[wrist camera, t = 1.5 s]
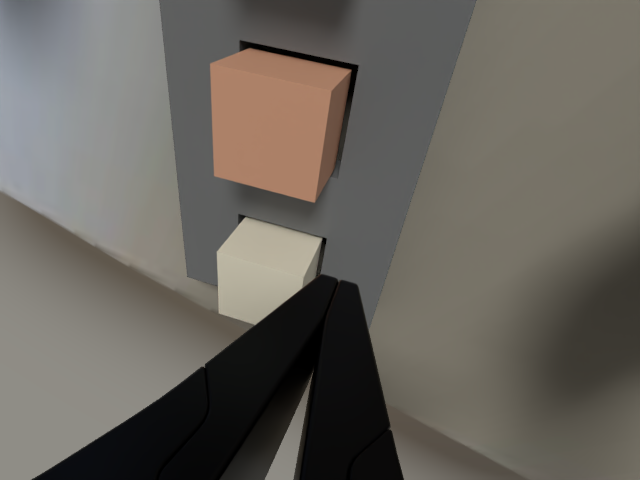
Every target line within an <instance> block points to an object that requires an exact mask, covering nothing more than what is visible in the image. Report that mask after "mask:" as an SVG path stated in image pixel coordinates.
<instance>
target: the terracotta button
mask: <svg viewBox="0 0 640 480" xmlns="http://www.w3.org/2000/svg"><path fill="white" fill-rule="evenodd" d="M351 73H352V69H347V68H342V67H338V66H333V65H328V64H324V63H319V62H314V61H310V60H305V59H300V58H295V57H291V56H286V55H281V54H277V53H272V52H267V51H263V50H258V49H253V48H248V49H246V50H243V51H241V52H238V53H236V54H233V55H231V56H228V57H226V58H223V59H221V60H218V61H215V62H213V63H210V76H211V104H212V132H213V160H214V176H215V177H219V178H223V179H227V180H231V181H234V182H238V183H242V184H246V185H249V186H253V187H257V188H261V189H264V190H268V191H272V192H276V193H280V194H283V195H287V196H291V197H295V198H298V199H302V200H306V201H310V202H314V203H315V202H316V200H317V198H318V196H319V195H320V193H321V191H322V189H323V188H324V186H325V184H326V183H327V181H328V179H329V177H330V176H331V174H332V172H333V170H334V169H335V164H336V158H337V153H338V147H339V141H340V135H341V130H342V124H343V118H344V113H345V107H346V101H347V95H348V90H349V84H350V78H351Z"/></svg>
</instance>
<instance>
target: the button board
mask: <svg viewBox="0 0 640 480" xmlns="http://www.w3.org/2000/svg"><path fill="white" fill-rule="evenodd" d="M159 2H160V11H161V21H162V31H163V41H164V51H165V61H166V71H167V81H168V91H169V100H170V110H171V120H172V130H173V140H174V150H175V160H176V170H177V179H178V189H179V199H180V209H181V219H182V229H183V239H184V249H185V259H186V268H187V277H189V278H193V279H196V280H199V281H202V282H206V283H209V284H212V285H215V286H218V271H217V251H218V250H219V249H220V247H221V246H222V245H223V244H224V242H225V241H226V240H227V239H228V238H229V236H230V235H231V234H232V233H233V232H234V230H235V229H236V228H237V227H238V225H239V224H240V223H241V222H242V221H243V219H244V218H245V217H246V216H248V217H252V218H255V219H259V220H263V221H266V222H270V223H273V224H277V225H281V226H284V227H288V228H291V229H295V230H299V231H302V232H306V233H310V234H313V235H317V236H320V237H324V238H327V241H326V246H325V252H324V257H323V263H322V268H321V274H325V275H328V276H332V277H335V278H337V279H338V282H339V281H340V280H346V281H349V282H353V283H356V284H357V285H358V287H359V291H360V295H361V299H362V304H363V308H364V313H365V317H366V321H367V326H368V330H369V328H370V325H371V322H372V319H373V316H374V313H375V310H376V307H377V303H378V300H379V297H380V294H381V291H382V288H383V285H384V282H385V279H386V276H387V273H388V270H389V267H390V264H391V261H392V258H393V254H394V251H395V248H396V245H397V242H398V239H399V236H400V233H401V230H402V227H403V224H404V221H405V218H406V215H407V212H408V209H409V206H410V202H411V199H412V196H413V193H414V190H415V187H416V184H417V181H418V178H419V175H420V172H421V169H422V166H423V163H424V160H425V157H426V153H427V150H428V147H429V144H430V141H431V138H432V135H433V132H434V129H435V126H436V123H437V120H438V117H439V114H440V111H441V108H442V105H443V101H444V98H445V95H446V92H447V89H448V86H449V83H450V80H451V77H452V74H453V71H454V68H455V65H456V62H457V59H458V56H459V52H460V49H461V46H462V43H463V40H464V37H465V34H466V31H467V28H468V25H469V22H470V19H471V16H472V13H473V10H474V7H475V4H476V0H159ZM258 44H261V45H266V46H271V47H275V48H280V49H285V50H290V51H294V52H299V53H304V54H309V55H313V56H318V57H323V58H328V59H332V60H337V61H342V62H346V63H351V64H356V65H359V67H358V73H357V78H356V83H355V89H354V94H353V100H352V105H351V111H350V116H349V121H348V127H347V132H346V138H345V143H344V149H343V154H342V159H341V160H337V159H336V164H335V169H334V170H333V172H332V174H331V176H330V177H329V179H328V181H327V183H326V184H325V186H324V188H323V189H322V191H321V193H320V195H319V196H318V198H317V200H316V202H315V203H314V202H310V201H306V200H302V199H298V198H295V197H291V196H287V195H283V194H280V193H276V192H272V191H268V190H264V189H261V188H257V187H253V186H249V185H246V184H242V183H238V182H234V181H231V180H227V179H223V178H219V177H215V176H214V160H213V132H212V104H211V76H210V63H213V62H215V61H218V60H221V59H223V58H226V57H228V56H231V55H233V54H236V53H238V52H241V51H243V50H246V49H248V48H253V49H258Z"/></svg>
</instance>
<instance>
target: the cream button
mask: <svg viewBox="0 0 640 480" xmlns="http://www.w3.org/2000/svg"><path fill="white" fill-rule="evenodd" d="M322 238H323V237H320V236H317V235H313V234H309V233H306V232H302V231H299V230H295V229H291V228H288V227H284V226H281V225H277V224H273V223H270V222H266V221H263V220H259V219H255V218H252V217H248V216H246V217H245V218H244V219H243V221H242V222H241V223H240V224H239V225H238V227H237V228H236V229H235V230H234V232H233V233H232V234H231V235H230V236H229V238H228V239H227V240H226V241H225V242H224V244H223V245H222V246H221V247H220V249H219V250H218V251H217V271H218V299H219V314H223V315H226V316H229V317H232V318H235V319H238V320H241V321H245V322H248V323H251V324H254V325H256V324H257V323H258V322H260V321H261V320H262V319H263V318H265V317H266V316H267V315H268V314H270V313H271V312H272V311H274V310H275V309H276V308H277V307H279V306H280V305H281V304H283V303H284V302H285V301H286V300H288V299H289V298H290V297H291V296H293V295H294V294H295V293H297V292H298V291H299V290H300V289H302V288H303V287H304V286H305V285H307V284H308V283H309V282H311V281H312V280H313V279H314V278H316V272H317V267H318V261H319V255H320V250H321V244H322Z"/></svg>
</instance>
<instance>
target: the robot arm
mask: <svg viewBox="0 0 640 480" xmlns="http://www.w3.org/2000/svg"><path fill="white" fill-rule="evenodd" d="M312 373H313V375H312ZM311 375H312V380H311V385H310V390H309V396H308V401H307V407H306V412H305V418H304V424H303V429H302V435H301V441H300V446H299V452H298V457H297V463H296V469H295V475H294V480H404V478H403V474H402V470H401V467H400V463H399V459H398V455H397V451H396V447H395V443H394V438H393V434H392V431H391V430H389V429H390V422H389V417H388V413H387V409H386V404H385V400H384V395H383V391H382V387H381V382H380V378H379V374H378V369H377V365H376V360H375V356H374V352H373V347H372V343H371V339H370V334H369V330H368V326H367V321H366V317H365V313H364V308H363V304H362V299H361V295H360V291H359V287H358V285H357V284H356V283H353V282H349V281H346V280H340V281H339V282H338V279H337V278H335V277H332V276H328V275H325V274H320V275H318V276H317V277H316V278H314V279H313V280H312V281H311V282H309V283H308V284H307V285H305V286H304V287H303V288H302V289H300V290H299V291H298V292H297V293H295V294H294V295H293V296H291V297H290V298H289V299H288V300H286V301H285V302H284V303H283V304H281V305H280V306H279V307H277V308H276V309H275V310H274V311H272V312H271V313H270V314H268V315H267V316H266V317H265V318H263V319H262V320H261V321H260V322H258V323H257V324H256V325H254V326H253V327H252V328H251V329H249V330H248V331H247V332H246V333H244V334H243V335H242V336H240V337H239V338H238V339H237V340H235V341H234V342H233V343H231V344H230V345H229V346H228V347H226V348H225V349H224V350H223V351H221V352H220V353H219V354H218V355H216V356H215V357H214V358H212V359H211V360H210V361H208V362H207V363H206V364H205V368H204V367H200V369H198V370H197V371H195V372H194V373H193V374H192V375H190V376H189V377H188V378H187V379H185V380H184V381H183V382H181V383H180V384H179V385H177V386H176V387H175V388H173V389H172V390H170V391H169V392H168V393H166V394H165V395H164V396H162V397H161V398H160V399H158V400H157V401H155V402H153V403H152V404H150V405H149V406H147V407H146V408H145V409H143V410H141V411H140V412H138V413H137V414H135V415H134V416H132V417H131V418H129V419H128V420H126V421H125V422H123V423H121V424H120V425H118V426H117V427H115V428H114V429H112V430H110V431H109V432H107V433H106V434H104V435H102V436H101V437H99V438H98V439H96V440H95V441H93V442H91V443H90V444H88V445H87V446H85V447H83V448H82V449H80V450H79V451H77V452H76V453H74V454H72V455H71V456H69V457H68V458H66V459H64V460H63V461H61V462H60V463H58V464H57V465H55V466H54V467H52V468H50V469H49V470H47V471H45V472H44V473H42V474H40V475H39V476H37V477H35V478H34V479H32V480H265V477H266V475H267V473H268V471H269V468H270V466H271V464H272V462H273V460H274V458H275V455H276V453H277V451H278V449H279V446H280V444H281V442H282V440H283V438H284V435H285V433H286V431H287V429H288V427H289V425H290V422H291V420H292V418H293V416H294V414H295V411H296V409H297V407H298V405H299V403H300V400H301V398H302V396H303V394H304V392H305V389H306V387H307V385H308V383H309V380H310V378H311Z"/></svg>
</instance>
